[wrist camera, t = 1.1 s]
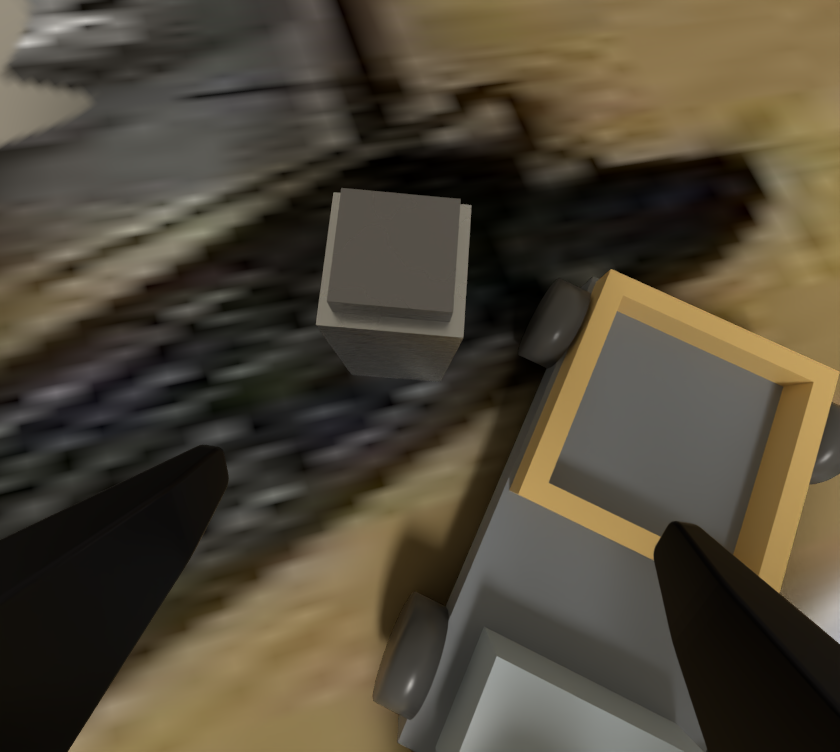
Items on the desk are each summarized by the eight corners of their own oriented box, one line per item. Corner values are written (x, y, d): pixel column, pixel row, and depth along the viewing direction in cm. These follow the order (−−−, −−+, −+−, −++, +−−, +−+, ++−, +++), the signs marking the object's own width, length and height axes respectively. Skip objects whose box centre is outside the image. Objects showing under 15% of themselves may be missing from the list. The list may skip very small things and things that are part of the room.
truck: (658, 832, 19) (761, 989, 13) (369, 682, 19) (355, 773, 14) (787, 396, 23) (905, 380, 17) (545, 286, 23) (586, 237, 18)
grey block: (440, 382, 22) (467, 328, 12) (351, 374, 22) (308, 315, 12) (446, 298, 23) (476, 187, 13) (361, 290, 23) (328, 173, 13)
